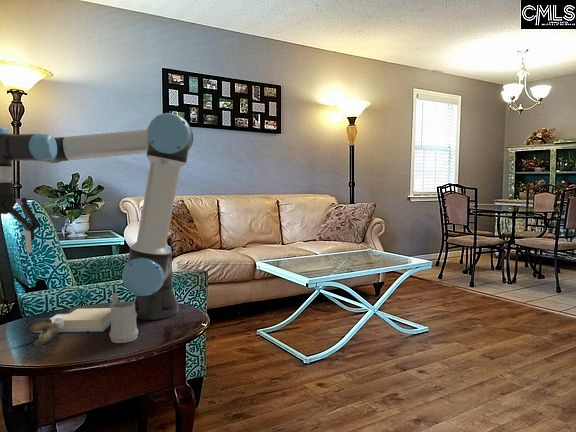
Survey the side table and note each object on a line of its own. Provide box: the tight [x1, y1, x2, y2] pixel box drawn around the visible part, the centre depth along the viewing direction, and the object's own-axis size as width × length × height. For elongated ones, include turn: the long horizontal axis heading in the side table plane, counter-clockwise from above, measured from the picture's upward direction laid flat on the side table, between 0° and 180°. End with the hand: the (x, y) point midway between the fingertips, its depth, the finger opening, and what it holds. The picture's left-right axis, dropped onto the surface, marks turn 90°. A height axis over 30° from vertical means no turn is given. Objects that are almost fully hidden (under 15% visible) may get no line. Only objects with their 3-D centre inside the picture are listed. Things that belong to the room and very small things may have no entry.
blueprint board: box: [33, 307, 111, 334], centre depth 136 cm, size 20×14×3 cm
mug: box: [108, 292, 139, 344], centre depth 125 cm, size 8×12×12 cm, turn 44°
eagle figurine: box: [24, 317, 64, 346], centre depth 124 cm, size 8×7×9 cm
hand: (3, 255), depth 127 cm, fingers open, 13 cm apart
